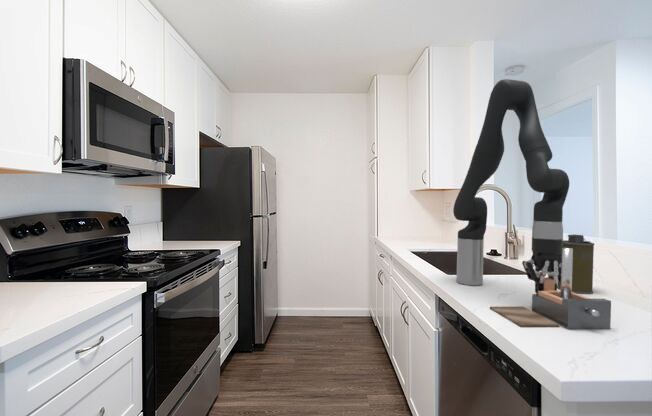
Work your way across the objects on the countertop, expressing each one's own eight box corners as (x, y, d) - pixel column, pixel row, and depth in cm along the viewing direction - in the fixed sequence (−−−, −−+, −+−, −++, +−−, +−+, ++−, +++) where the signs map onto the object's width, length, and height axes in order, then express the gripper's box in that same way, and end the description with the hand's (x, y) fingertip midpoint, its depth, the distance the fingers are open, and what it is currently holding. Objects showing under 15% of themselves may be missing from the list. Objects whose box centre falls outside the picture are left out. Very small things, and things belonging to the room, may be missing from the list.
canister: (578, 295, 111) (579, 236, 110) (549, 287, 121) (551, 233, 120) (601, 293, 113) (603, 236, 113) (571, 285, 123) (573, 233, 123)
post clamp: (531, 311, 93) (533, 245, 93) (568, 311, 93) (570, 245, 93) (574, 332, 78) (576, 254, 78) (617, 332, 79) (620, 254, 78)
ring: (527, 290, 96) (527, 277, 96) (556, 290, 97) (556, 277, 97) (562, 305, 83) (563, 289, 83) (596, 305, 83) (596, 289, 83)
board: (489, 308, 95) (489, 306, 95) (522, 308, 95) (522, 306, 95) (520, 327, 81) (520, 324, 81) (559, 326, 81) (559, 324, 81)
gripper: (560, 235, 99) (558, 291, 99) (515, 235, 98) (514, 291, 99) (580, 238, 91) (579, 299, 92) (532, 238, 91) (531, 299, 91)
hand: (545, 295), depth 95 cm, fingers closed on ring, 3 cm apart
